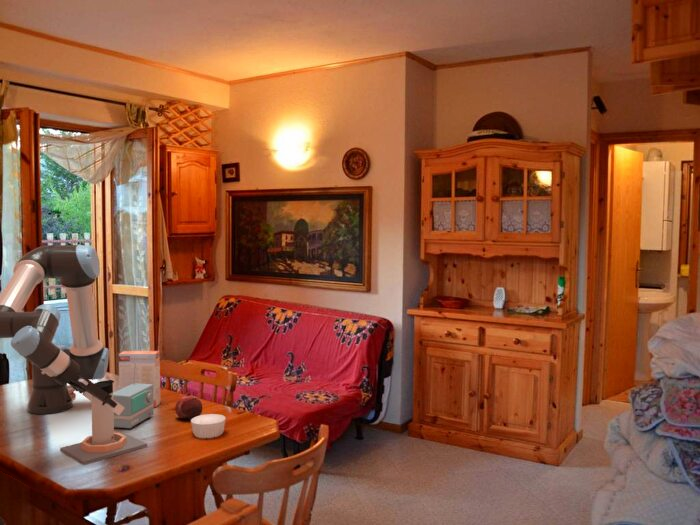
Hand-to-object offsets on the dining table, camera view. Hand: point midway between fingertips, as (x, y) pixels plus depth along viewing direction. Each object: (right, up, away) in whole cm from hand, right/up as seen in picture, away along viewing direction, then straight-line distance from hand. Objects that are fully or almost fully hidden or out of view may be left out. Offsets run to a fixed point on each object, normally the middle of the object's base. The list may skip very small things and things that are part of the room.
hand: (110, 406), depth 193 cm
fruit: (+17, -11, +30) cm, 36 cm away
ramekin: (+27, -12, +13) cm, 33 cm away
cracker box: (-6, -10, +45) cm, 46 cm away
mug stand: (-2, -13, -1) cm, 13 cm away
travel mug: (-2, -12, -1) cm, 12 cm away
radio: (-1, -11, +25) cm, 27 cm away
